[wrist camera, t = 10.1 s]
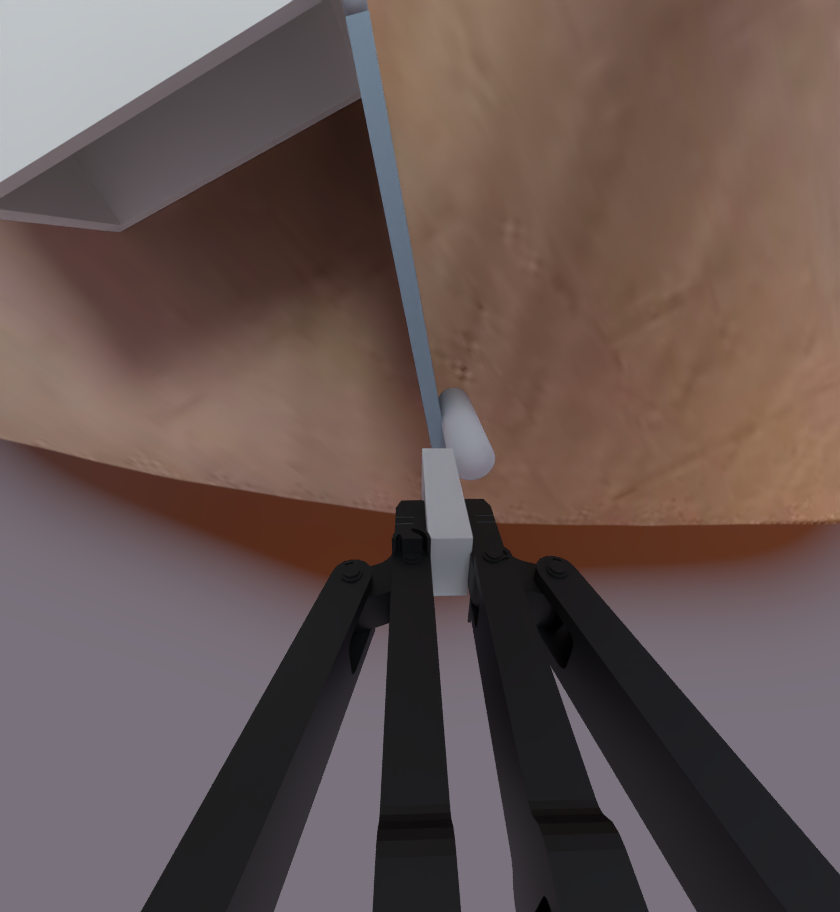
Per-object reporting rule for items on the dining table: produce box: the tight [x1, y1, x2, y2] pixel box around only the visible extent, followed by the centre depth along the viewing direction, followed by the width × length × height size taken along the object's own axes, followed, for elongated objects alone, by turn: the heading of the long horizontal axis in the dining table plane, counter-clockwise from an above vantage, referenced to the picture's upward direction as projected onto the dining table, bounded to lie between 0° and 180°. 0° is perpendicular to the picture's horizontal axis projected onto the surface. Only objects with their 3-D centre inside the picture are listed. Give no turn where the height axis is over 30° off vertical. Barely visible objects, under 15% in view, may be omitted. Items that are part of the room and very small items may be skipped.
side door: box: [342, 0, 495, 480], centre depth 22 cm, size 22×3×16 cm, turn 11°
